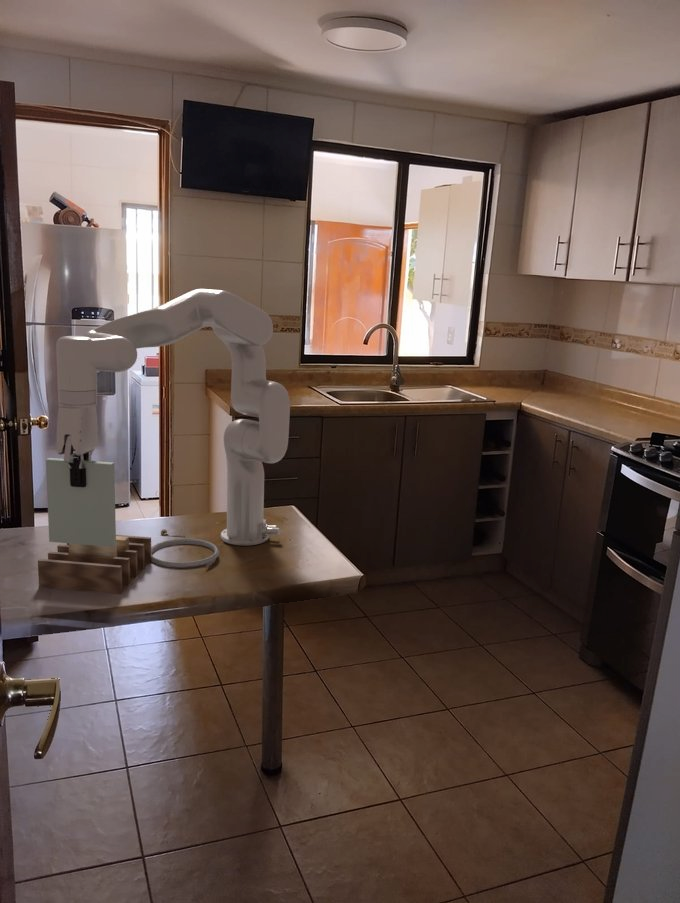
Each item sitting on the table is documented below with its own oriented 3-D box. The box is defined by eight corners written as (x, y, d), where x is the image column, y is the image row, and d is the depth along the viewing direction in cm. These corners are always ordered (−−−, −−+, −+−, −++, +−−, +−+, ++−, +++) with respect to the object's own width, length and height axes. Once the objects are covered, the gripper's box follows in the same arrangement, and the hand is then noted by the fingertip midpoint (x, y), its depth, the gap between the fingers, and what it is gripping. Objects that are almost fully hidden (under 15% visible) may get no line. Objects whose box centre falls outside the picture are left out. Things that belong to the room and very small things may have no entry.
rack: (151, 565, 175) (151, 537, 173) (120, 598, 157) (119, 567, 155) (78, 559, 176) (77, 531, 175) (39, 591, 158) (37, 560, 157)
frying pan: (194, 522, 200) (228, 556, 176) (194, 532, 200) (228, 567, 176) (130, 529, 192) (156, 566, 168) (130, 540, 193) (157, 578, 168)
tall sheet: (116, 544, 158) (114, 462, 154) (113, 547, 156) (111, 464, 152) (52, 539, 159) (49, 457, 155) (49, 541, 157) (45, 459, 153)
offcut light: (117, 577, 165) (116, 543, 163) (113, 581, 163) (112, 546, 161) (74, 573, 166) (73, 539, 164) (69, 577, 163) (68, 543, 162)
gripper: (77, 391, 158) (80, 474, 162) (41, 402, 143) (45, 494, 147) (111, 393, 158) (113, 476, 162) (78, 405, 142) (81, 497, 147)
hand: (80, 484), depth 154 cm, fingers closed on tall sheet, 1 cm apart
